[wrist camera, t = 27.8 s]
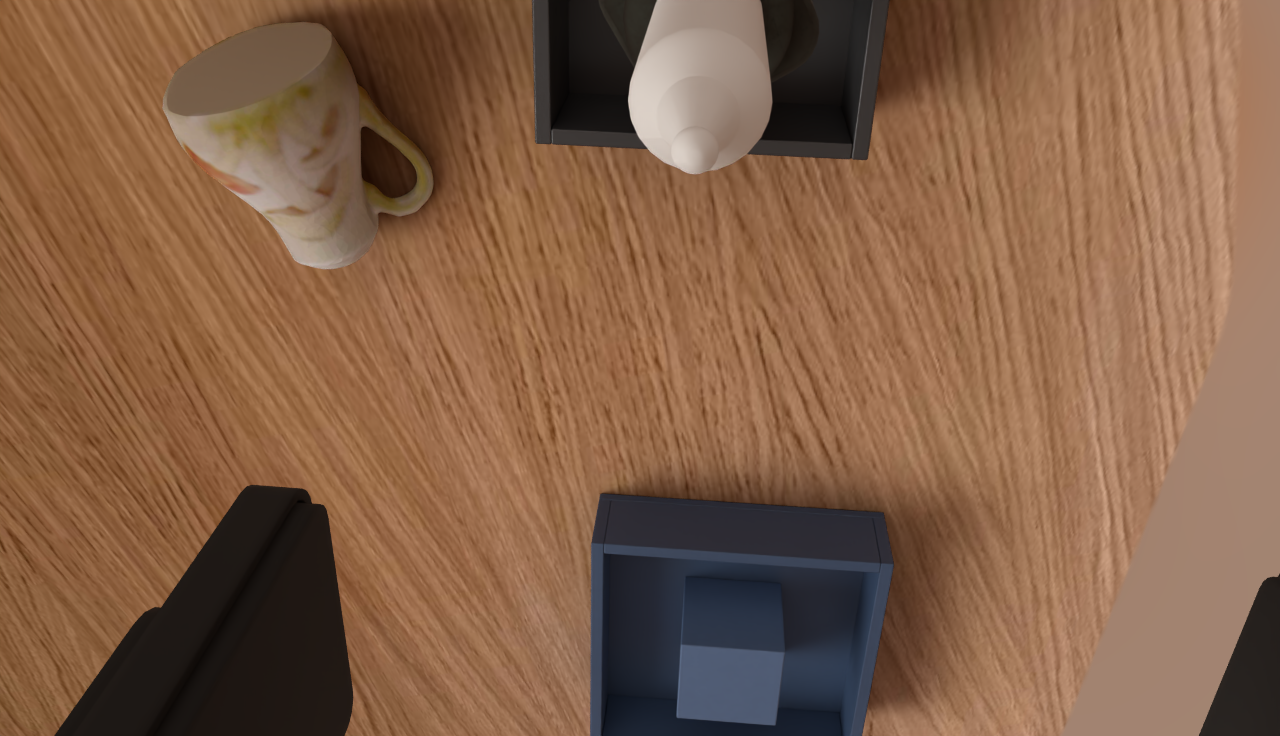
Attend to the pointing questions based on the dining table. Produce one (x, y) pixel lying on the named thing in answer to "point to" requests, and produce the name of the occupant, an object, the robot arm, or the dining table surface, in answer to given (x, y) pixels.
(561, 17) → the charcoal bin
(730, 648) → the blue block
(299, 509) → the robot arm
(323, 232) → the mug
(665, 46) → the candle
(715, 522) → the blue bin
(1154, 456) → the dining table surface
